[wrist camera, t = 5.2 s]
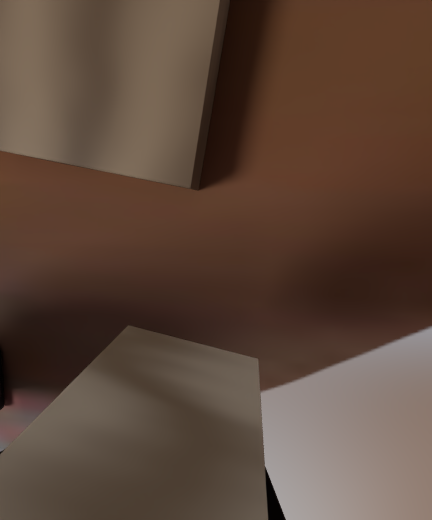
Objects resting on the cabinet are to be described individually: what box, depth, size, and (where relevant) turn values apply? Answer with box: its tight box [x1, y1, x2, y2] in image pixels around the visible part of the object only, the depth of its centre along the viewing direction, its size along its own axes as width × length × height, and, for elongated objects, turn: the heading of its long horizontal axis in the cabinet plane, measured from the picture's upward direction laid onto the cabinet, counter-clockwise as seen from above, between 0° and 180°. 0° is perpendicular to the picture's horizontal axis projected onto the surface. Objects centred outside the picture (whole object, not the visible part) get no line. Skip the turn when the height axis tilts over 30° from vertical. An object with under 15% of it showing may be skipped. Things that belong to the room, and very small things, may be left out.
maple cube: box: [0, 325, 268, 520], centre depth 6 cm, size 5×5×6 cm
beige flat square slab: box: [0, 0, 230, 190], centre depth 11 cm, size 12×12×2 cm
